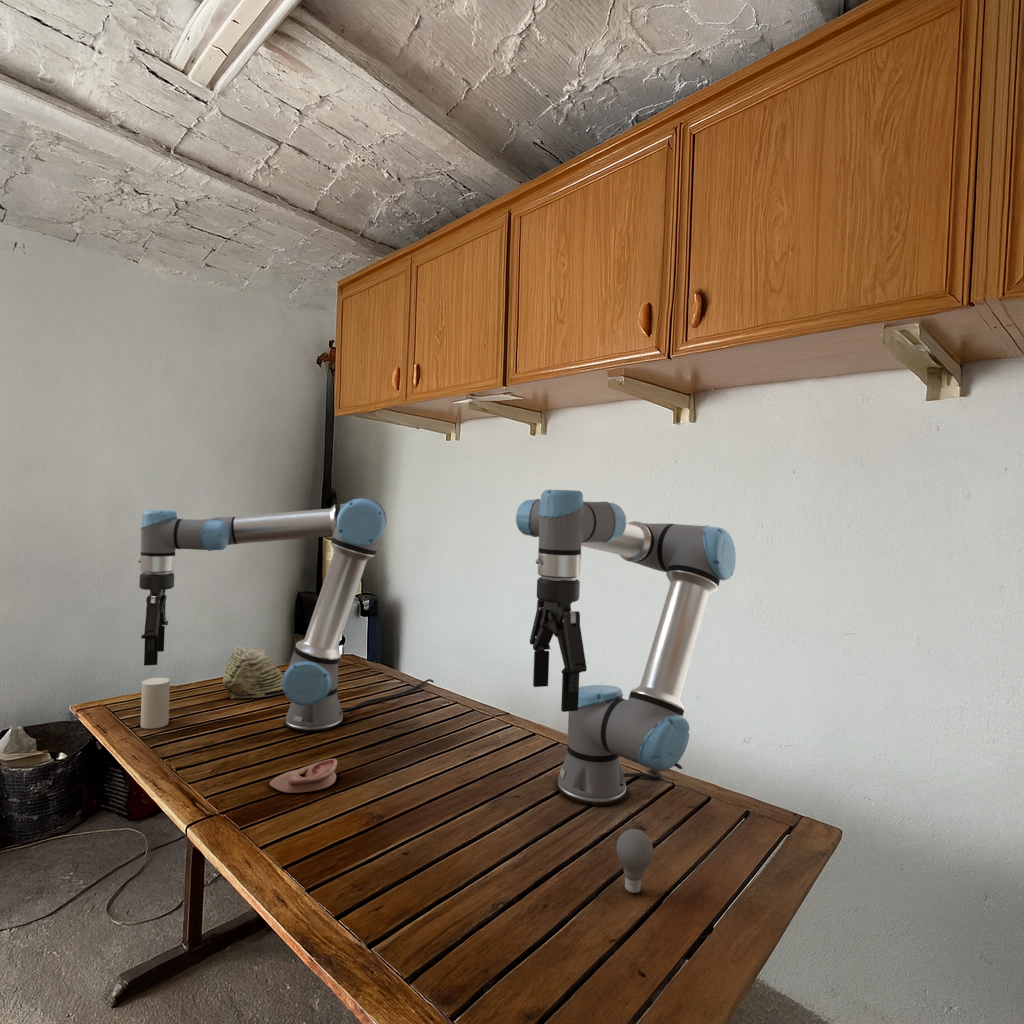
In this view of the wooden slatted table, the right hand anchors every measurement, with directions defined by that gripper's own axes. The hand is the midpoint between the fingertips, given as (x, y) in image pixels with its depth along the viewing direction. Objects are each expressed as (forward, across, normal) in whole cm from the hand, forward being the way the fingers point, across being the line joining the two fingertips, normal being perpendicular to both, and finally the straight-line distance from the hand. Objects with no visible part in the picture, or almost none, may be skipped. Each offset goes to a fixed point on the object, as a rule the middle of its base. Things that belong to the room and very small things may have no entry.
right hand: (554, 697), depth 112 cm
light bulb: (+30, +11, +11) cm, 34 cm away
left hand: (+8, -73, -77) cm, 106 cm away
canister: (+29, -87, -79) cm, 121 cm away
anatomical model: (+30, -42, -41) cm, 66 cm away
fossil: (+30, -109, -56) cm, 126 cm away
